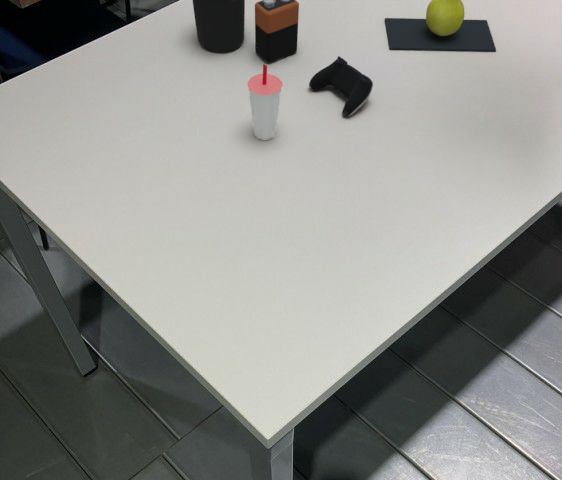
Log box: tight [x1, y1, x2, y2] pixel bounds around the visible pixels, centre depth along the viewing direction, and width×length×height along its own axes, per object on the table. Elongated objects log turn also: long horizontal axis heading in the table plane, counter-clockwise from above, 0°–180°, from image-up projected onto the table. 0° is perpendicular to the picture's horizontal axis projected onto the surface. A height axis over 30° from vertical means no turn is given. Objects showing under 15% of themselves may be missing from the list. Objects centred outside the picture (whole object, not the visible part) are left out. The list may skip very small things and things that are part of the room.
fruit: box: [425, 0, 466, 36], centre depth 113 cm, size 7×7×12 cm
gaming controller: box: [308, 55, 374, 118], centre depth 107 cm, size 11×4×7 cm
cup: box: [247, 64, 283, 141], centre depth 98 cm, size 5×5×12 cm
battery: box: [254, 0, 300, 64], centre depth 110 cm, size 4×7×10 cm, turn 125°
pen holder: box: [192, 0, 246, 54], centre depth 112 cm, size 9×9×10 cm
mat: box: [384, 17, 497, 53], centre depth 118 cm, size 20×10×1 cm, turn 90°
